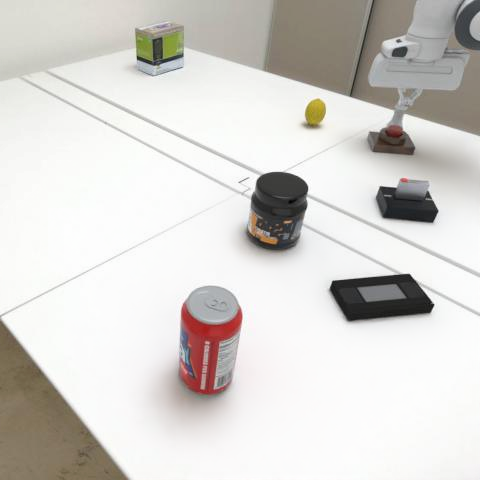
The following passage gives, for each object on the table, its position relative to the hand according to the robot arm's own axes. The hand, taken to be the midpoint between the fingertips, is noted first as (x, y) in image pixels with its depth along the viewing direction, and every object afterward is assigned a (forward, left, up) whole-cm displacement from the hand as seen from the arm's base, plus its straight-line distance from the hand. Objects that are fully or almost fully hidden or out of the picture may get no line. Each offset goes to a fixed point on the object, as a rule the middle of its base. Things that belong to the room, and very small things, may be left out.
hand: (404, 104), depth 114 cm
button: (0, 0, -8) cm, 8 cm away
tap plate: (+3, +30, -12) cm, 32 cm away
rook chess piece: (-3, -10, -12) cm, 16 cm away
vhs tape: (+14, +59, -12) cm, 62 cm away
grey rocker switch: (+3, +30, -9) cm, 31 cm away
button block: (0, 0, -12) cm, 12 cm away
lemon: (+19, -10, -12) cm, 25 cm away
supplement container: (+31, +44, -12) cm, 55 cm away
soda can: (+41, +79, -12) cm, 90 cm away
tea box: (+71, -51, -12) cm, 88 cm away
